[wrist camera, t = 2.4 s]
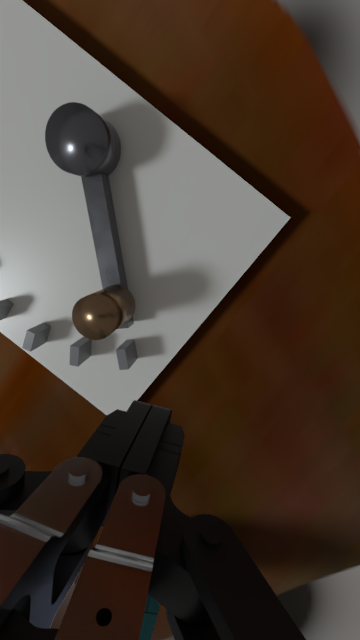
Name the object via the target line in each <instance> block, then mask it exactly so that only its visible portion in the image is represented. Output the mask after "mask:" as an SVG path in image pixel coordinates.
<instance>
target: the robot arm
mask: <svg viewBox="0 0 360 640" xmlns="http://www.w3.org/2000/svg"><path fill="white" fill-rule="evenodd" d="M171 413H172V410H171V409H167V408H163V407H159V406H156V405H151V404H148V403H144V402H140V401H136V400H134V401H133V402H132V404H131V405H130V407H129V408H128V410H127V412H126V411H122V410H118V409H117V410H115V411H113V412H112V413H110V414H108V415H107V416H106V417H105V418H104V420H103V421H102V423H101V425H99V427H98V428H97V429H96V431H95V432H94V434H93V435H92V436H91V438H90V439H89V440H88V442H87V443H86V445H85V446H84V447H83V449H82V450H81V451H80V453H79V454H78V455H77V457H73V458H69V459H67V460H65V461H63V462H61V463H60V464H59V465H58V466H57V467H56V468H55V469H54V470H53V471H48V472H35V471H25V464H24V462H23V460H22V459H21V458H19V457H17V456H15V455H10V454H0V640H139V637H140V632H141V627H142V621H143V616H144V611H145V605H146V600H147V595H148V594H149V595H150V596H152V597H153V598H154V599H155V600H156V601H158V602H159V603H160V604H161V605H163V606H164V607H165V608H166V616H167V620H168V623H169V626H170V628H171V631H172V633H173V636H174V638H175V640H306V639H305V638H304V636H303V635H302V633H301V632H300V630H299V629H298V627H297V626H296V624H295V623H294V621H293V620H292V618H291V617H290V615H289V614H288V612H287V611H286V609H285V608H284V607H283V605H282V604H281V602H280V600H279V599H278V597H277V596H276V594H275V593H274V592H273V590H272V589H271V587H270V586H269V584H268V583H267V581H266V580H265V578H264V577H263V575H262V574H261V572H260V571H259V569H258V568H257V566H256V565H255V563H254V562H253V560H252V559H251V557H250V556H249V554H248V553H247V551H246V550H245V548H244V547H243V545H242V544H241V542H240V541H239V540H238V538H237V537H236V535H235V534H234V532H233V531H232V529H231V528H230V527H229V526H228V525H227V524H226V523H225V522H224V521H223V520H221V519H219V518H217V517H215V516H212V515H206V514H203V515H197V516H195V517H193V518H189V517H188V516H186V515H185V514H183V513H182V512H181V511H180V510H179V509H177V507H176V506H175V505H174V503H173V502H172V500H171V497H170V494H171V490H172V487H173V483H174V480H175V476H176V472H177V469H178V464H179V459H180V455H181V450H182V445H183V441H184V433H183V430H182V427H181V426H178V425H175V424H171V423H170V418H171ZM100 526H103V529H102V531H101V534H100V537H99V539H98V542H97V544H96V547H95V548H92V547H93V542H94V539H95V537H96V535H97V533H98V531H99V529H100ZM82 566H83V568H82ZM81 568H82V571H81V573H80V576H79V578H78V581H77V583H76V586H75V588H74V591H73V594H72V596H71V599H70V601H69V604H68V606H67V609H66V612H65V614H64V616H63V619H62V622H61V624H60V627H59V629H50V626H51V624H52V621H53V619H54V617H55V615H56V613H57V611H58V609H59V607H60V605H61V604H62V602H63V600H64V598H65V597H66V595H67V593H68V591H69V589H70V588H71V586H72V584H73V582H74V581H75V579H76V577H77V575H78V573H79V572H80V570H81Z"/></svg>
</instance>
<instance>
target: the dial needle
mask: <svg viewBox="0 0 360 640" xmlns="http://www.w3.org/2000/svg"><path fill="white" fill-rule="evenodd" d="M45 143H46V147H47V151H48V153H49V155H50V157H51V159H52V160H53V162H54V163H55V164H56V165H57V166H58V167H59V168H60V169H62V170H63V171H65V172H68V173H71V174H74V175H77V176H81V179H82V184H83V189H84V194H85V199H86V205H87V210H88V215H89V220H90V226H91V231H92V236H93V241H94V246H95V252H96V257H97V262H98V267H99V272H100V278H101V283H102V288H103V289H101V290H99V291H97V292H94V293H92V294H90V295H87V296H85V297H83V298H81V299H79V300H78V301H77V302H76V304H75V305H74V307H73V310H72V320H73V324H74V326H75V328H76V329H77V331H78V332H79V333H80V334H81V335H83V336H84V337H86V338H88V339H91V340H101V339H104V338H106V337H107V336H109V335H110V334H111V333H113V332H114V331H115V330H116V329H123V328H129V327H130V326H131V325H133V324H134V321H133V314H134V312H135V300H134V297H133V295H132V294H131V292H130V291H129V290H128V286H127V280H126V275H125V269H124V263H123V257H122V252H121V246H120V240H119V234H118V229H117V223H116V217H115V211H114V205H113V200H112V194H111V188H110V182H109V177H108V176H109V175H110V174H111V173H112V172H113V171H114V170H115V168H116V167H117V165H118V162H119V160H120V155H121V143H120V139H119V136H118V134H117V132H116V130H115V128H114V127H113V126H112V125H111V124H110V123H109V122H108V121H107V120H105V119H104V118H103V117H101V116H100V115H99V114H97V113H96V112H95V111H93V110H92V109H91V108H89V107H88V106H86V105H84V104H81V103H77V102H70V103H66V104H63V105H61V106H60V107H58V108H57V109H56V110H55V111H54V112H53V113H52V115H51V116H50V118H49V120H48V122H47V125H46V130H45Z"/></svg>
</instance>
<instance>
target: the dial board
mask: <svg viewBox="0 0 360 640" xmlns="http://www.w3.org/2000/svg"><path fill="white" fill-rule="evenodd" d="M70 102H77V103H81V104H84V105H86V106H88V107H89V108H91V109H92V110H93V111H95V112H96V113H97V114H99V115H100V116H101V117H103V118H104V119H105V120H107V121H108V122H109V123H110V124H111V125H112V126H113V127H114V128H115V130H116V132H117V134H118V136H119V139H120V143H121V155H120V160H119V162H118V165H117V167H116V168H115V170H114V171H113V172H112V173H111V174H110V175H109V176H108V177H109V182H110V188H111V194H112V200H113V205H114V211H115V217H116V223H117V229H118V234H119V240H120V246H121V252H122V257H123V263H124V269H125V275H126V280H127V286H128V290H129V291H130V292H131V294H132V295H133V297H134V300H135V312H134V314H133V321H134V324H133V325H131V326H130V327H129V328H123V329H116V330H115V331H114V332H113V333H111V334H110V335H109V336H107V337H106V338H104V339H101V340H91V339H88V338H86V337H84V336H83V335H81V334H80V333H79V332H78V331H77V329H76V328H75V326H74V324H73V320H72V310H73V307H74V305H75V304H76V302H77V301H78V300H79V299H81V298H83V297H85V296H87V295H90V294H92V293H94V292H97V291H99V290H101V289H103V288H102V283H101V278H100V272H99V267H98V262H97V257H96V252H95V246H94V241H93V236H92V231H91V226H90V220H89V215H88V210H87V205H86V199H85V194H84V189H83V184H82V179H81V176H77V175H74V174H71V173H68V172H65V171H63V170H62V169H60V168H59V167H58V166H57V165H56V164H55V163H54V162H53V160H52V159H51V157H50V155H49V153H48V151H47V147H46V143H45V130H46V125H47V122H48V120H49V118H50V116H51V115H52V113H53V112H54V111H55V110H56V109H57V108H58V107H60V106H61V105H63V104H66V103H70ZM289 219H290V217H289V216H288V215H287V214H285V213H284V212H283V211H282V210H281V209H279V208H278V207H277V206H276V205H274V204H273V203H272V202H271V201H269V200H268V199H267V198H266V197H264V196H263V195H262V194H261V193H260V192H258V191H257V190H256V189H255V188H253V187H252V186H251V185H250V184H248V183H247V182H246V181H245V180H244V179H242V178H241V177H240V176H239V175H237V174H236V173H235V172H234V171H232V170H231V169H230V168H229V167H227V166H226V165H225V164H224V163H223V162H221V161H220V160H219V159H218V158H216V157H215V156H214V155H213V154H211V153H210V152H209V151H208V150H207V149H205V148H204V147H203V146H202V145H200V144H199V143H198V142H197V141H195V140H194V139H193V138H192V137H190V136H189V135H188V134H187V133H186V132H184V131H183V130H182V129H181V128H179V127H178V126H177V125H176V124H174V123H173V122H172V121H171V120H170V119H168V118H167V117H166V116H165V115H163V114H162V113H161V112H160V111H158V110H157V109H156V108H155V107H153V106H152V105H151V104H150V103H149V102H147V101H146V100H145V99H144V98H142V97H141V96H140V95H139V94H137V93H136V92H135V91H134V90H132V89H131V88H130V87H129V86H128V85H126V84H125V83H124V82H123V81H121V80H120V79H119V78H118V77H116V76H115V75H114V74H113V73H112V72H110V71H109V70H108V69H107V68H105V67H104V66H103V65H102V64H100V63H99V62H98V61H97V60H95V59H94V58H93V57H92V56H91V55H89V54H88V53H87V52H86V51H84V50H83V49H82V48H81V47H79V46H78V45H77V44H76V43H75V42H73V41H72V40H71V39H70V38H68V37H67V36H66V35H65V34H63V33H62V32H61V31H60V30H58V29H57V28H56V27H55V26H54V25H52V24H51V23H50V22H49V21H47V20H46V19H45V18H44V17H42V16H41V15H40V14H39V13H38V12H36V11H35V10H34V9H33V8H31V7H30V6H29V5H28V4H26V3H25V2H24V1H23V0H0V332H1V333H3V334H4V335H5V336H6V337H8V338H9V339H10V340H11V341H13V342H14V343H15V344H17V345H18V346H19V347H20V348H22V349H23V350H24V351H25V352H27V353H28V354H29V355H31V356H32V357H33V358H34V359H36V360H37V361H38V362H40V363H41V364H42V365H43V366H45V367H46V368H47V369H48V370H50V371H51V372H52V373H54V374H55V375H56V376H57V377H59V378H60V379H61V380H62V381H64V382H65V383H66V384H68V385H69V386H70V387H71V388H73V389H74V390H75V391H76V392H78V393H79V394H80V395H82V396H83V397H84V398H85V399H87V400H88V401H89V402H90V403H92V404H93V405H94V406H96V407H97V408H98V409H99V410H101V411H102V412H103V413H104V414H106V415H108V414H110V413H112V412H113V411H115V410H117V409H118V410H122V411H126V412H127V410H128V408H129V407H130V405H131V404H132V402H133V401H134V400H136V401H137V400H138V399H139V398H140V396H141V395H142V394H143V393H144V392H145V391H146V389H147V388H148V387H149V386H150V385H151V383H152V382H153V381H154V380H155V379H156V377H157V376H158V375H159V374H160V373H161V371H162V370H163V369H164V368H165V367H166V366H167V364H168V363H169V362H170V361H171V360H172V358H173V357H174V356H175V355H176V354H177V352H178V351H179V350H180V349H181V348H182V346H183V345H184V344H185V343H186V342H187V341H188V339H189V338H190V337H191V336H192V335H193V333H194V332H195V331H196V330H197V329H198V327H199V326H200V325H201V324H202V323H203V321H204V320H205V319H206V318H207V317H208V316H209V314H210V313H211V312H212V311H213V310H214V308H215V307H216V306H217V305H218V304H219V302H220V301H221V300H222V299H223V298H224V296H225V295H226V294H227V293H228V292H229V291H230V289H231V288H232V287H233V286H234V285H235V283H236V282H237V281H238V280H239V279H240V277H241V276H242V275H243V274H244V273H245V271H246V270H247V269H248V268H249V267H250V266H251V264H252V263H253V262H254V261H255V260H256V258H257V257H258V256H259V255H260V254H261V252H262V251H263V250H264V249H265V248H266V246H267V245H268V244H269V243H270V242H271V241H272V239H273V238H274V237H275V236H276V235H277V233H278V232H279V231H280V230H281V229H282V227H283V226H284V225H285V224H286V223H287V221H288V220H289Z"/></svg>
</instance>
